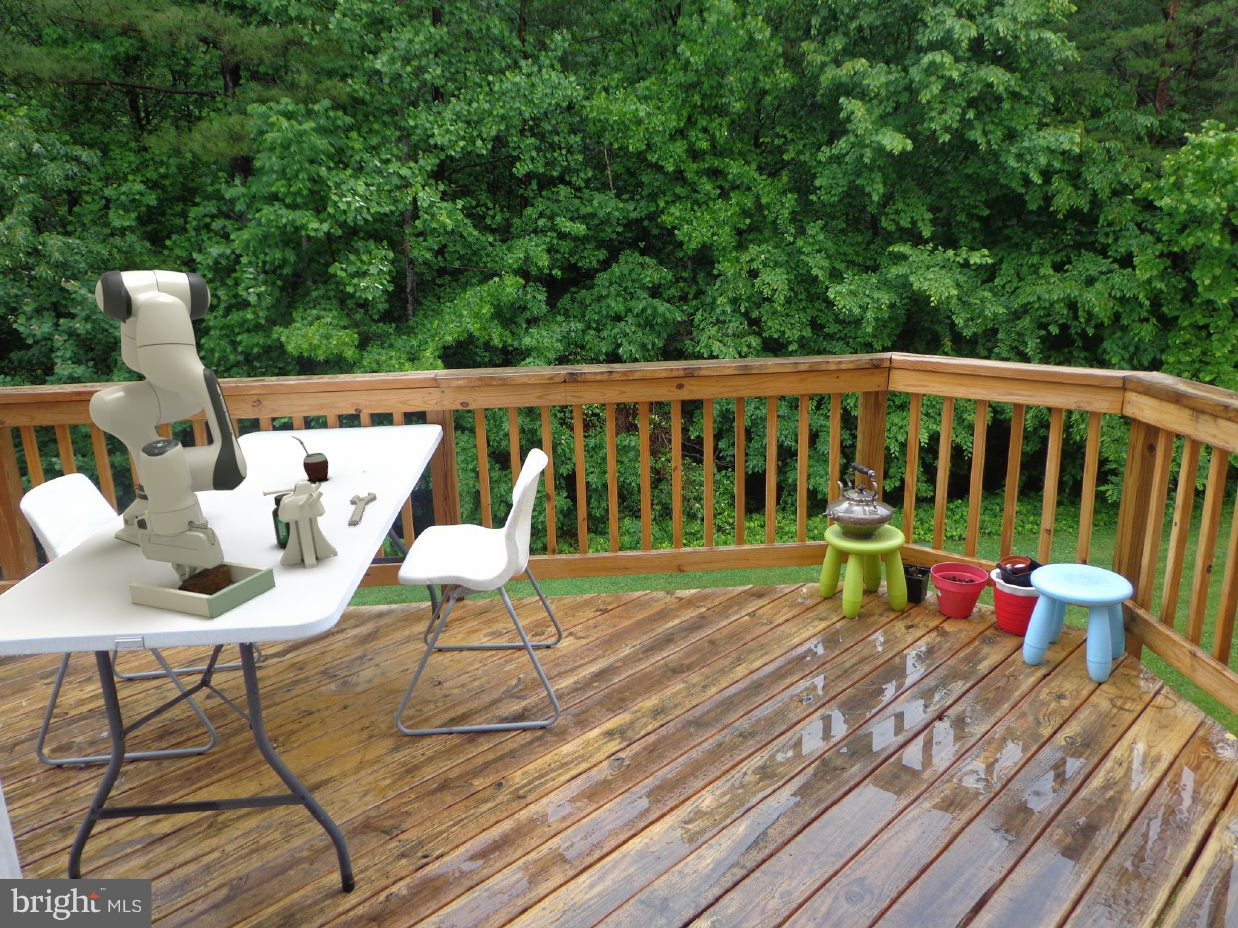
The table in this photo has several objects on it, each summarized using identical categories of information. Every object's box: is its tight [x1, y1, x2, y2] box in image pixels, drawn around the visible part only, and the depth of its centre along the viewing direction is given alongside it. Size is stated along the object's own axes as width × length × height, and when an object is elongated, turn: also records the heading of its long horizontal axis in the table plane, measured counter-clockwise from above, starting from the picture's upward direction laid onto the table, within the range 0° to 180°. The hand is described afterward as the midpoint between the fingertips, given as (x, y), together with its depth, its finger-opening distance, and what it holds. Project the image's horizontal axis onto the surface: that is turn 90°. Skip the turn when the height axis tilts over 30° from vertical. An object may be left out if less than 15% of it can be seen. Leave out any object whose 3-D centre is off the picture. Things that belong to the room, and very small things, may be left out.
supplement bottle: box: [271, 492, 292, 549], centre depth 205 cm, size 7×7×12 cm
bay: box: [128, 560, 276, 619], centre depth 179 cm, size 23×16×4 cm
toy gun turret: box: [262, 480, 339, 569], centre depth 194 cm, size 12×13×18 cm
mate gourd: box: [291, 435, 329, 485], centre depth 256 cm, size 8×8×15 cm
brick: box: [177, 564, 232, 596], centre depth 179 cm, size 11×4×5 cm, turn 163°
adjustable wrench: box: [347, 492, 377, 527], centre depth 228 cm, size 25×6×2 cm, turn 4°
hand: (188, 582), depth 180 cm, fingers closed
